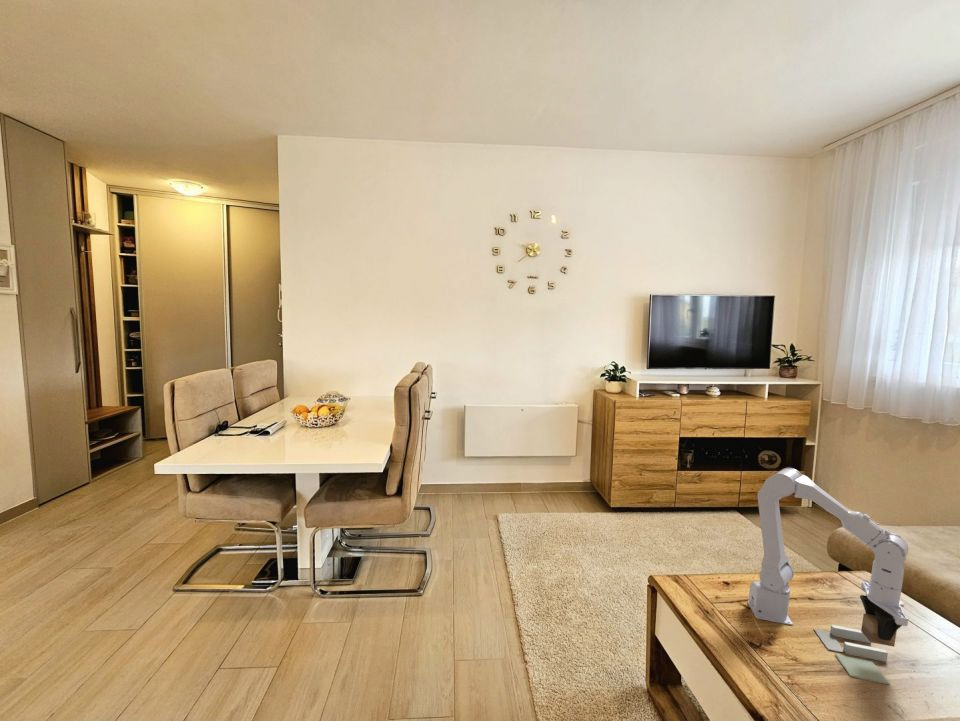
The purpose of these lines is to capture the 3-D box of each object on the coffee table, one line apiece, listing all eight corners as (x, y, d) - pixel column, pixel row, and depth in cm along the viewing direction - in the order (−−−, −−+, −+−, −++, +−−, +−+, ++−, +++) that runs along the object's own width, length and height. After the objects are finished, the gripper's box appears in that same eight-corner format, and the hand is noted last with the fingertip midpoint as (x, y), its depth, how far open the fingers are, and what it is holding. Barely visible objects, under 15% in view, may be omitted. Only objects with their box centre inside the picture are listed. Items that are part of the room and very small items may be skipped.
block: (870, 642, 109) (873, 623, 109) (861, 631, 113) (863, 613, 113) (894, 646, 108) (897, 628, 108) (883, 635, 112) (886, 617, 112)
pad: (850, 676, 107) (850, 674, 107) (835, 655, 113) (835, 653, 113) (889, 684, 105) (889, 683, 105) (871, 662, 111) (872, 661, 111)
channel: (827, 650, 115) (829, 641, 115) (813, 629, 123) (814, 621, 123) (886, 661, 112) (887, 653, 112) (868, 640, 119) (869, 631, 119)
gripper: (926, 604, 101) (918, 657, 103) (885, 569, 115) (878, 617, 117) (890, 598, 103) (882, 650, 104) (854, 564, 117) (848, 611, 118)
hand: (878, 632), depth 111 cm, fingers closed on block, 4 cm apart
